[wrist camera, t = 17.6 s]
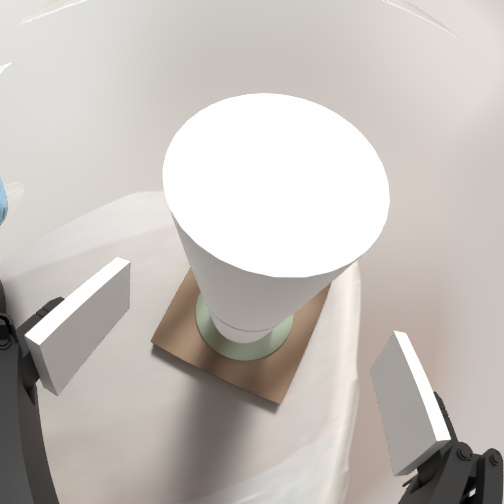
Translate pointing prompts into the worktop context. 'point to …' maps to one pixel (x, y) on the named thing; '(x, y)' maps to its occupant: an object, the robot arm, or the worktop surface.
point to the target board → (237, 354)
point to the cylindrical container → (271, 205)
